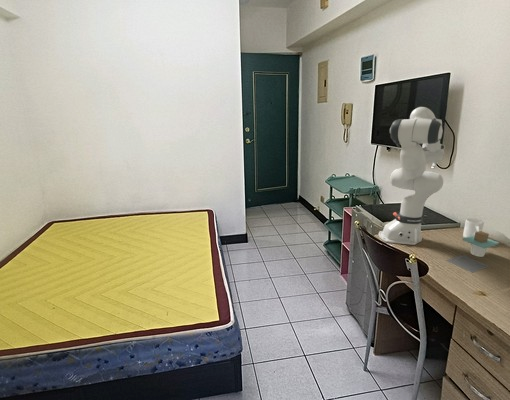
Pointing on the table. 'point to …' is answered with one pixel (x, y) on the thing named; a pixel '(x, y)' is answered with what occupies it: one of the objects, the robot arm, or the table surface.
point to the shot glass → (477, 250)
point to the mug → (472, 227)
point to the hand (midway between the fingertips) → (427, 169)
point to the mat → (467, 263)
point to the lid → (481, 240)
